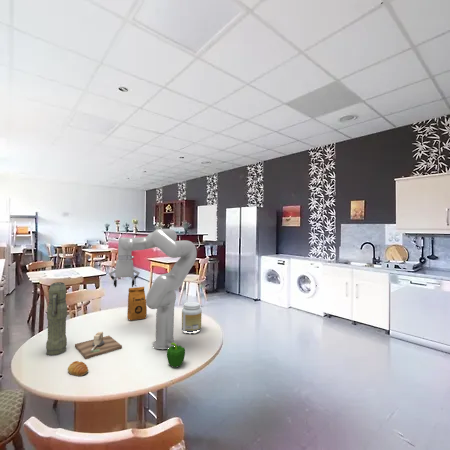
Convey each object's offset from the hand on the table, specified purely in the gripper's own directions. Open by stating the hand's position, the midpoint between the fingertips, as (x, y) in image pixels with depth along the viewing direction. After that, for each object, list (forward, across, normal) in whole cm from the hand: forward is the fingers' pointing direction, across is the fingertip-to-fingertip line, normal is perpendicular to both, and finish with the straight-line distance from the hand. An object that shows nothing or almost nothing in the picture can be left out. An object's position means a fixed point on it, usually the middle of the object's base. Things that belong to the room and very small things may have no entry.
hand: (124, 286), depth 167 cm
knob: (+26, +11, +20) cm, 35 cm away
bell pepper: (+28, -28, +44) cm, 59 cm away
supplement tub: (+28, -40, +3) cm, 50 cm away
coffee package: (+28, -6, -26) cm, 39 cm away
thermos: (+28, +30, +18) cm, 45 cm away
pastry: (+29, +14, +41) cm, 52 cm away
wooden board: (+28, +11, +17) cm, 35 cm away
